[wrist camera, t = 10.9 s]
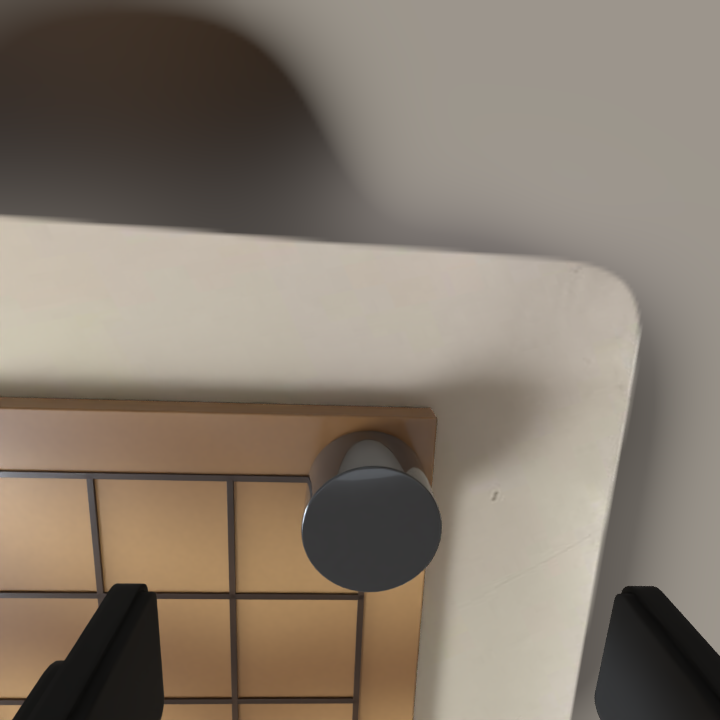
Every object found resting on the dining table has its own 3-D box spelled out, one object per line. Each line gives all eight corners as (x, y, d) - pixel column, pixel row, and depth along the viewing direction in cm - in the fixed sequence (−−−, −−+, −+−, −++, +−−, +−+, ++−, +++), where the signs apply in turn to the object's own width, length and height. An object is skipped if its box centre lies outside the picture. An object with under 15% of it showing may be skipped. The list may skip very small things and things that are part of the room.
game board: (-109, 393, 18) (-144, 404, 17) (431, 407, 19) (438, 419, 18) (-32, 810, 22) (-55, 844, 21) (401, 803, 23) (404, 836, 22)
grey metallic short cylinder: (308, 428, 17) (301, 465, 14) (429, 431, 18) (448, 468, 15) (306, 538, 18) (299, 593, 15) (421, 539, 19) (436, 594, 16)
